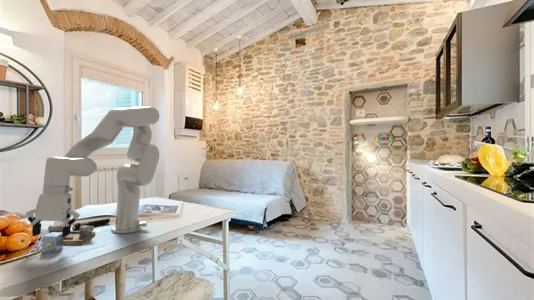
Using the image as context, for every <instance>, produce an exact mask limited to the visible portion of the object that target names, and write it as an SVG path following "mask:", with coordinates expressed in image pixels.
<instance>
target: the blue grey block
mask: <svg viewBox="0 0 534 300" xmlns="http://www.w3.org/2000/svg"><path fill="white" fill-rule="evenodd" d="M42 240H43V244H42V245H41V253H47V254H49V253H51V254H52V253H53V254H54V253H57V252H60V251H61V250H62V249H63V248H64V245H63V240H64V237H62V233H61V232H51V233H49V232H48V233H47V234H45V235H43V236H42Z"/></svg>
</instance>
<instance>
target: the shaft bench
mask: <svg viewBox="0 0 534 300" xmlns="http://www.w3.org/2000/svg"><path fill="white" fill-rule="evenodd" d="M64 226H65V225H64V224H61V225H59V224H57V225H56V224H50V225H49V226H48V228H47V231H48V234H49V233H51V232H61V233H62V232H63V227H64ZM94 229H95V227H94V226H80V229H79V230H77V231H74V230H70V234H69V235H68V236H66V237H64V240H63V246H64V245H66V246H67V245H68V246H69V245H70V246H71V245H74V246H75V245H78V246H79V245H80V246H81V245H84V244H85V243H86V242H87V241H89V240H90V239H92V238H93V237H94V236H96V231H94ZM42 242H43V239H42V240H41V243H42Z"/></svg>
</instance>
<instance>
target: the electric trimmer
mask: <svg viewBox="0 0 534 300" xmlns="http://www.w3.org/2000/svg"><path fill="white" fill-rule="evenodd" d="M110 220H111V218H105V219H97V220H93V221H88V222H87V221H86V222H82V223H80V222H77V223H75V224H73V226H72V227H71V231H79V229H80V226H94V228H96V227H100V226H104V225H107V224H110Z"/></svg>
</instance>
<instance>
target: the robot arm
mask: <svg viewBox="0 0 534 300" xmlns="http://www.w3.org/2000/svg"><path fill="white" fill-rule="evenodd" d="M159 119H160V112H159V110H158V109H157V108H156V107H154V106H133V107H115V108H111V109H110V110H108V112H107V113H106V114H105V116H104V117H103V118H102V119H101V121H100V122H99V123H98V124H97V126H96V127H95V128H94V129H93V131H91V133H89V134H87V135H86V136H84V137H83V138H82V139H80V140H79V141H78V142H76V143H75V144H74V145H73V146H72V147H71V148H70V149H69V150H68V152H66V154H65V155H64V156H49V157H48V158H46V161H45V166H44V175H43V176H44V177H43V184H42V185H43V186H42V192H41V193H40V194H39V197H38V199H37V202H36V206H35V208H34V209H31V210H29V211H27V212H25V215H26V217H27V220H28V221H29V222H30V225H31V226H32V231H31V233H32V237H36V236H38V235H40V234H41V233H42V232H41V229H42V221H43V222H62V225H63V226H64V227H63V232H62V237H66V236H68V235H69V234H70V231H71V230H72V225H74V223H75V222H76V221H78V218H79V217H80V216H81V214H80V213H79V212H77V211H75V210H73V198H72V194H71V193H70V192H72V191H73V187H70V186H71V185H70V180H71V176H75V177H88V176H91V175H94V173H95V172H96V171H97V163H96V161H94V160H93V159H91V158H89V156H90V155H92V154H93V153H95V152H96V151H98V150H101V149H103V148H106V147H108V146H111V145H112V144H113V143H114V141H115V140H116V139H117V137H118V136H119V134H120V133H121V132H122V130H124V128H133V133H132V137H131V141H130V142H129V146H128V150H127V153H126V157H127V159H128V160H129V161H131V162H133V163H126V164H122V165H121V166H119V168H118V169H117V171H116V183H117V199H116V214H115V225H112V227H111V230H110V231H111V232H112V233H115V234H131V233H135V232H138V231H140V230H141V229H142V228H143V227H144V228H145V227H147V226H148V222H146V221H141V218H139V212H140V209H139V208H140V198H141V197H140V196H141V189H140V187H147V186H148V185H149V184H151V182H152V181H153V179H154V177H155V172H156V170H157V167H158V163H159V160H160V150H159V148H158V146H157V145H155V144H152V143H151V141H152V137H153V132H152V129H151V126H152V125H155V124H156V123H157V122H158V121H159ZM150 125H151V126H150ZM135 163H138V164H135ZM34 215H35V216H34ZM71 217H72V219H71Z"/></svg>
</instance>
